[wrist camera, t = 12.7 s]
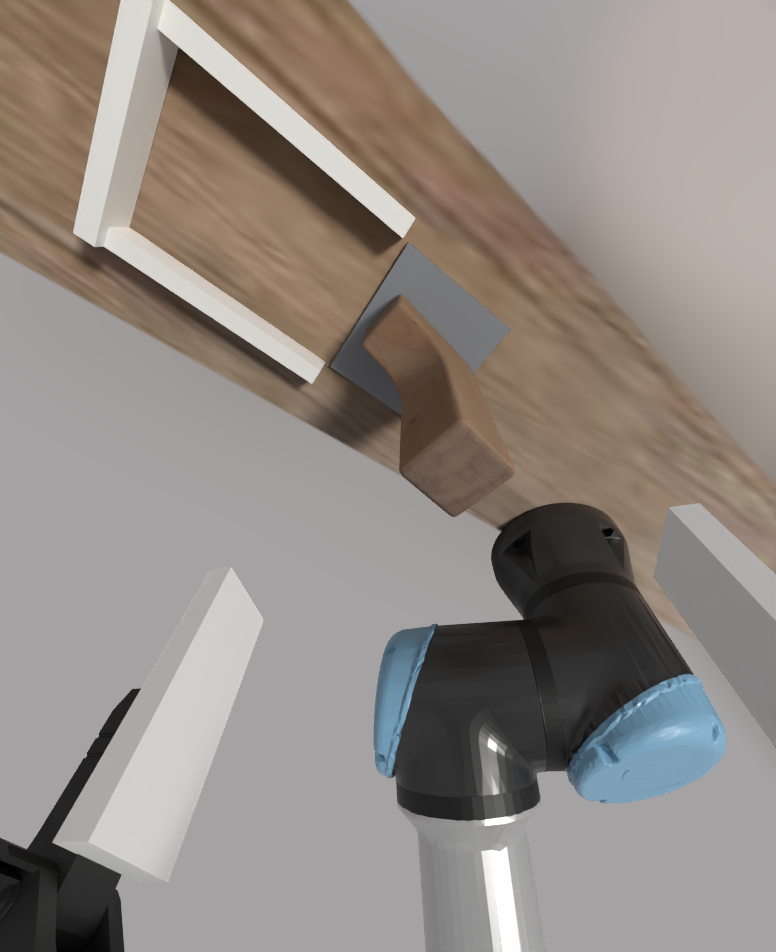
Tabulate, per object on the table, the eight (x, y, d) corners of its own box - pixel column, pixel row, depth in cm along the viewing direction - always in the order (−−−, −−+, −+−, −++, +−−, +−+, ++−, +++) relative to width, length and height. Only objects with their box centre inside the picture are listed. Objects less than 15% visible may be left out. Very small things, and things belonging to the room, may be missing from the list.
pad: (509, 328, 33) (510, 329, 33) (423, 429, 39) (423, 431, 38) (408, 242, 30) (408, 242, 29) (330, 365, 35) (329, 366, 35)
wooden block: (364, 332, 33) (328, 418, 18) (400, 291, 31) (393, 349, 16) (434, 400, 36) (453, 522, 21) (471, 366, 34) (520, 474, 19)
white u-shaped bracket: (415, 218, 29) (416, 217, 26) (317, 375, 36) (309, 387, 33) (163, -4, 23) (128, -37, 20) (105, 232, 30) (73, 233, 27)
